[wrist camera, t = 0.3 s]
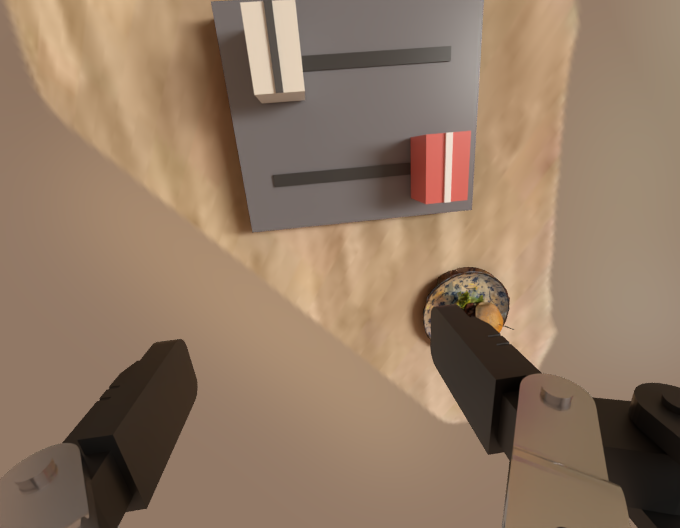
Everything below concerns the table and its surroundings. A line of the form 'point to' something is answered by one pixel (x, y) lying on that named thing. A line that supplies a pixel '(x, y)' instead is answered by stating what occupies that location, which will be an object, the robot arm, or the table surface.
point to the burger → (470, 296)
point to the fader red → (440, 167)
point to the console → (353, 108)
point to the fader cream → (274, 50)
